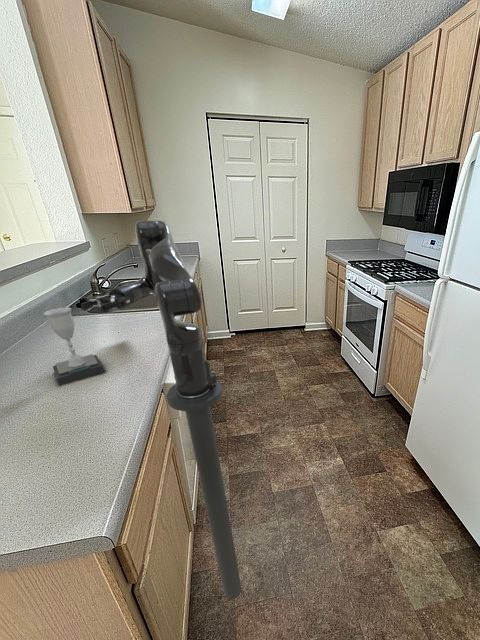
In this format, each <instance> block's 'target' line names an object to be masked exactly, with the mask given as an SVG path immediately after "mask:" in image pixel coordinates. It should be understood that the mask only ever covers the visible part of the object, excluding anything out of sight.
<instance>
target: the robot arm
mask: <svg viewBox="0 0 480 640" xmlns="http://www.w3.org/2000/svg"><path fill="white" fill-rule="evenodd" d="M134 230H135V231H134V232H135V238H136V242H137V243H136V244H137V246H138V250H139V254H140V257H141V260H142V263H143V270H144V274H143V276H142V277H141V278H140V279H138V280H137V281H134V282H131V283H126V284H123V285H120V286H116V287H113V288H112V289H110V291H109V294H104V295H101V294H98V295H95V296H92V297H89V298H86V299H85V300H86V301H84V302H81V303H80V307H81V310H83V311H86V310H88V309H92V308H94V307H99V308H100V310H101V311H102V312H103V313H105V312H107V311H110V310H112V309H113V310H115V309H119V310H120V309H123V308H126V307H128V306H130V305H134V304H136V303H138V302H139V301H142V300H145V299H146V298H148V297H150V296H151V294H152V295H154V296H155V298H156V302H157V306H158V310H159V313H160V316H161V320H162V324H163V329H164V334H165V339H166V343H167V349H168V353H169V357H170V363H171V366H172V371H173V375H174V380H175V384H176V385H177V390H178V395H179V396H180V397H182V398H185V399H194V398H199V397H202V396H204V395H205V394H207V393H208V392H209V391H210V390H212V389H213V387H212V384H215V383H216V381H218V378H217V376H216V375H215V374H214V373H213V372H211V369H210V363H209V360H207V359H206V355H205V350H204V348H205V347H204V343H203V337H202V330H201V328H200V326H199V325H198V324H196V323H192V322H187V321H182V320H179V319H177V318H175V317H180V316H186V315H191V314H194V313H195V314H196V313H198V312H199V311H200V310H201V308H202V305H203V298H202V297H203V296H202V294H201V291H200V289H199V286H198V284H197V282H196V281H195V279H194V278H193V277H192V275H191V274H190V272H189V271H188V268H187V266H186V264H185V261H184V260H183V257H182V255H181V253H180V251H179V249H178V248H177V245H176V243H175V241H174V238H173V235H172V232H171V228H170V227H169V225H168V223H166V222H165V221H163V220H139V221H137V222H136V223H135V226H134Z"/></svg>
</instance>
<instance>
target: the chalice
mask: <svg viewBox="0 0 480 640" xmlns="http://www.w3.org/2000/svg"><path fill="white" fill-rule="evenodd" d="M43 315H44V316H45V317H46V318H47V321H48V323H49V326H50V328H51V330H52V331H53V332H54V333H55V334H56V335H57V336H58V337H59V338H60V339H62V340H66V343H67V344H66V346H67V347H68V348H69V349H68V352H70V353H71V356H69V358H68V360H69V361H68V360H67V361H68V366H70V367H74V366H79V365H82V364H84V363H85V362H86V361H85V360H84V359H83V358H82V357H83V356H82V355H79V354H76V352H75V350H76V348H74V346H73V345H74V343H72V341H71V339H72V338H73V337H74V332H75V320H74V318H73V315H72V308H71V307H59V308H53V309H49V310H46V311H44V313H43Z"/></svg>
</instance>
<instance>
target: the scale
mask: <svg viewBox="0 0 480 640" xmlns="http://www.w3.org/2000/svg"><path fill="white" fill-rule="evenodd" d="M93 356H94V357H95V359H96V360H97V362H98V365H95V366H91V367H90V366H88V367H84V368H80V369H77V370H73V371H69V373H66V374H62V375H59V372H58V369H57V367H56V364H55V365H52V369H53V371H54V375H55V378H56V381H57V383H58V386H59V387H60V386H64V385H66V384H71V383H73V382H77V381H80V380H84V379H87V378H91V377H94V376H95V377H96V376H98V375H101V374H105V373H106V369H105V367H104V365H103V363H102V361H101V360H100V358H99V357H98V355H97V354H93Z"/></svg>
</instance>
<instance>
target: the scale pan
mask: <svg viewBox="0 0 480 640" xmlns="http://www.w3.org/2000/svg"><path fill="white" fill-rule="evenodd" d="M93 355H94V354H93V353H91V354H87V355H84V356H81V357H82V358H83V359H84V360H85V361H86V362H85V363H84V364H82V365H79V366H74V367H70V366H68V361H69V359H68V360H64V361H60V362H57V363H55V365H56V367H57V369H58V372H59V375H62V374H66V373H69V371H73V370H77V369H80V368H84V367H88V366H90V367H91V366H95V365H98V362H97V360H96V359H95V357H94V356H93Z"/></svg>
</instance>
